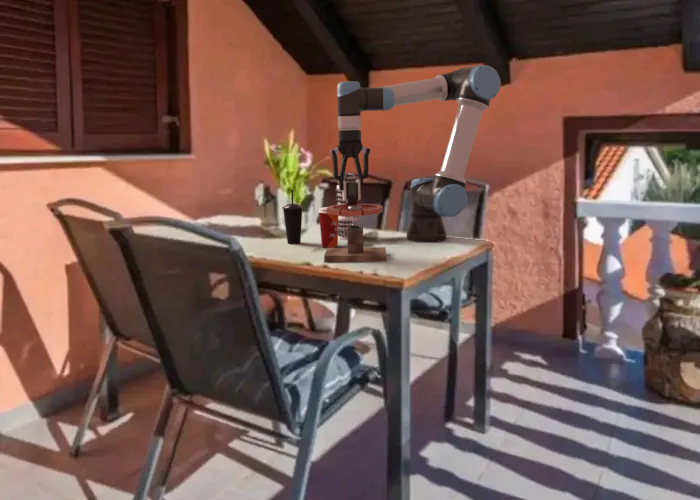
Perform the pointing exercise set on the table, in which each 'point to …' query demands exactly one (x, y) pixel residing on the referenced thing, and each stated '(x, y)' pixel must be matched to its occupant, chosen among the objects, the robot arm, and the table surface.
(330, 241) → the paper cup
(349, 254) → the brown block
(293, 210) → the drinking cup
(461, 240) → the table surface
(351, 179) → the decorative candle
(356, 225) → the handwheel
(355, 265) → the table surface
